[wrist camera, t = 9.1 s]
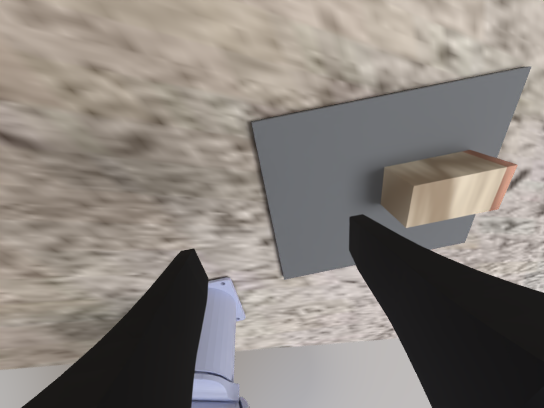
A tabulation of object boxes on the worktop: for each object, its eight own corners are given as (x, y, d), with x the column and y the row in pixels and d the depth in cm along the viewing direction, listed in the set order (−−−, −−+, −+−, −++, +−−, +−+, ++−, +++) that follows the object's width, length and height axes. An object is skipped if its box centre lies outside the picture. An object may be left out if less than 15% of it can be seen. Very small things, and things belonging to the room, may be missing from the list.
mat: (283, 276, 26) (284, 279, 26) (251, 121, 17) (251, 122, 17) (461, 239, 26) (464, 242, 26) (524, 66, 17) (531, 66, 17)
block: (406, 228, 18) (498, 209, 18) (413, 185, 16) (517, 164, 16) (380, 204, 22) (458, 188, 22) (384, 167, 20) (470, 149, 20)
